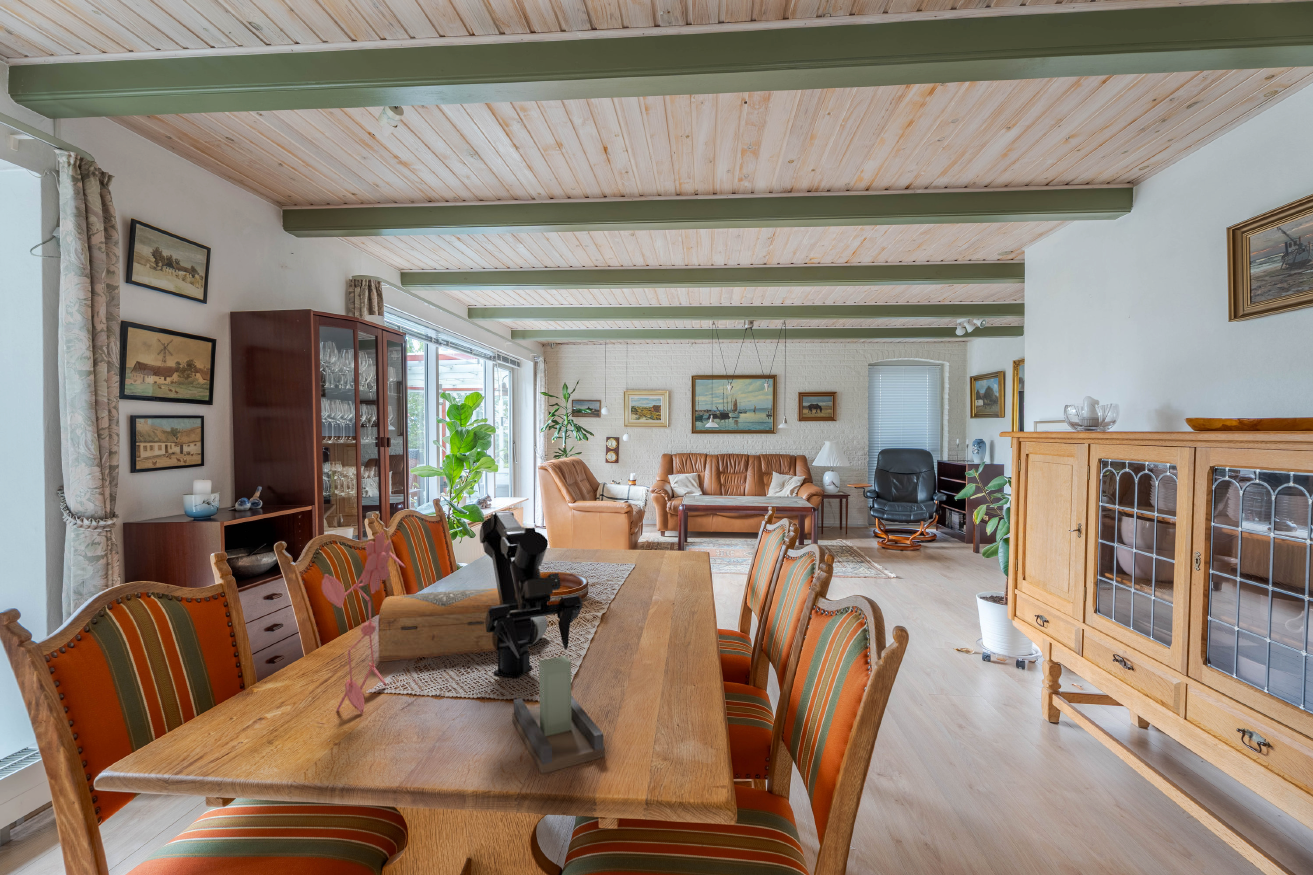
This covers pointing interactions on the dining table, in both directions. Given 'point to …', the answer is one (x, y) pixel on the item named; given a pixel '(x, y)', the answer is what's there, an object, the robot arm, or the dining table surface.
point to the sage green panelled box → (555, 695)
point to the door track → (559, 738)
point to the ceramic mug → (539, 627)
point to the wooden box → (435, 624)
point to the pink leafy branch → (336, 595)
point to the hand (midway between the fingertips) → (543, 652)
